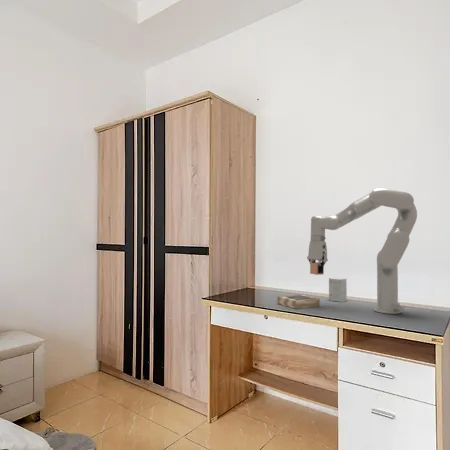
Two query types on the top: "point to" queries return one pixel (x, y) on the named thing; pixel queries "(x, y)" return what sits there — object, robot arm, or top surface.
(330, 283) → the small box
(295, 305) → the square wooden tray
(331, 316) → the top surface
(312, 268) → the terracotta block
